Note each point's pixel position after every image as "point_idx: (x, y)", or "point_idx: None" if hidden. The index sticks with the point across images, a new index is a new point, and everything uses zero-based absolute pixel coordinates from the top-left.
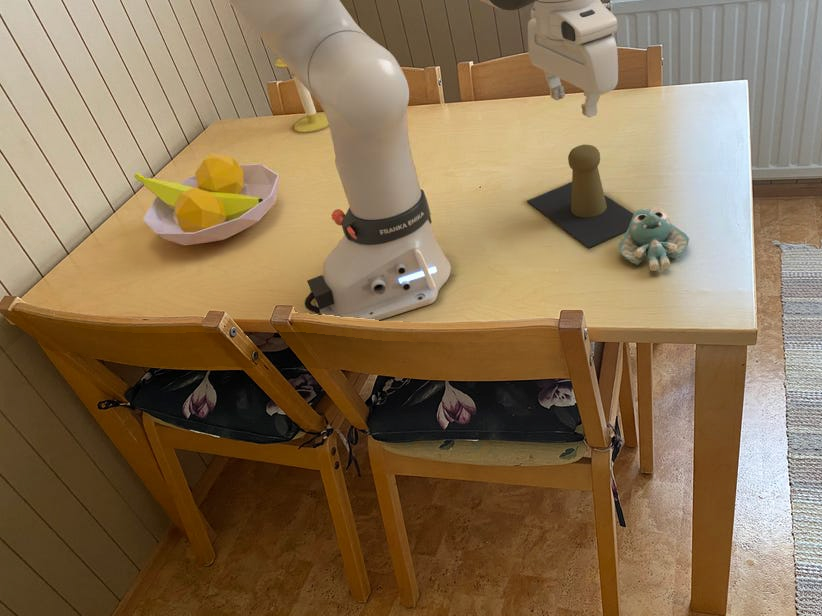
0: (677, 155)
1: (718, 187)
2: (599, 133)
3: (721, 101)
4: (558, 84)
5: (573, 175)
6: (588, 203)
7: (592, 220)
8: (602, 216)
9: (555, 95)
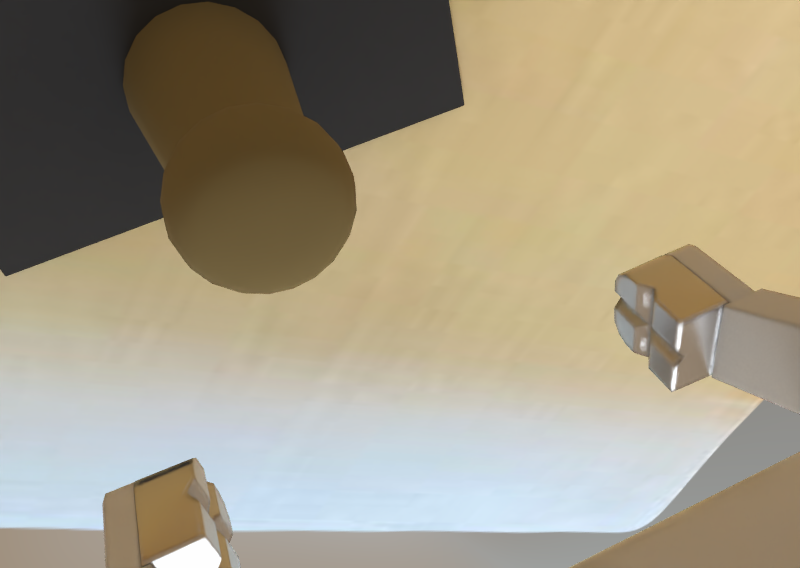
0: (423, 405)
1: None
2: (692, 229)
3: (598, 503)
4: (730, 366)
5: (233, 96)
6: (137, 97)
7: (89, 76)
8: (112, 126)
9: (651, 294)
